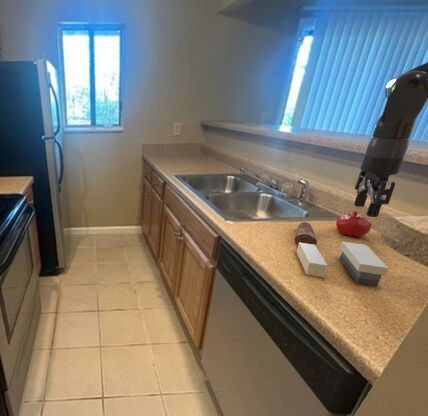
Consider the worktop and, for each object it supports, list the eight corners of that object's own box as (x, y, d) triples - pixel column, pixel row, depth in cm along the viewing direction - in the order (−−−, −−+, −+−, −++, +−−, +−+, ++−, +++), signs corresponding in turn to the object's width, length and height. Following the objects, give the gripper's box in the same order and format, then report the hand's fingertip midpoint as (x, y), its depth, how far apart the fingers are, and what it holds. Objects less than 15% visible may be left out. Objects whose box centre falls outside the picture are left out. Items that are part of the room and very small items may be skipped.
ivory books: (311, 254, 93) (314, 244, 92) (324, 277, 81) (328, 266, 80) (296, 252, 95) (299, 242, 93) (306, 274, 83) (309, 263, 81)
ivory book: (363, 251, 87) (365, 244, 86) (385, 275, 75) (388, 268, 74) (340, 248, 89) (342, 241, 88) (357, 271, 77) (360, 263, 76)
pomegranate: (364, 242, 100) (372, 218, 97) (330, 233, 108) (337, 211, 104) (369, 234, 106) (377, 211, 103) (337, 226, 113) (344, 205, 110)
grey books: (356, 261, 88) (360, 250, 87) (377, 287, 77) (382, 275, 75) (339, 259, 90) (342, 248, 89) (356, 283, 78) (361, 271, 77)
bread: (292, 246, 98) (296, 232, 96) (296, 228, 113) (299, 215, 111) (314, 251, 95) (318, 237, 93) (315, 231, 109) (318, 218, 107)
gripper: (419, 160, 65) (394, 222, 71) (389, 151, 78) (370, 204, 83) (378, 158, 68) (358, 218, 74) (355, 149, 80) (339, 201, 86)
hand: (364, 211), depth 79 cm, fingers open, 8 cm apart
